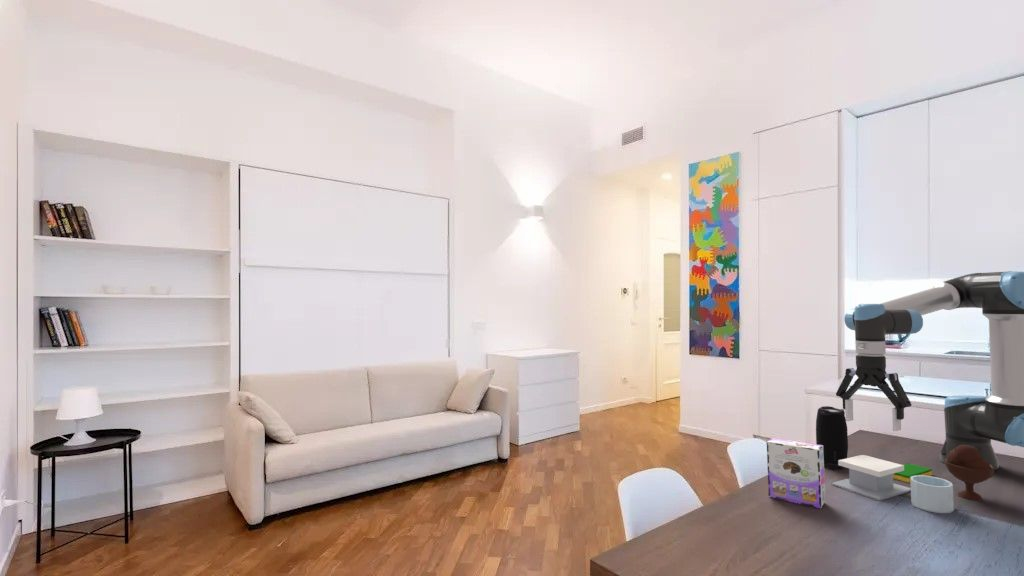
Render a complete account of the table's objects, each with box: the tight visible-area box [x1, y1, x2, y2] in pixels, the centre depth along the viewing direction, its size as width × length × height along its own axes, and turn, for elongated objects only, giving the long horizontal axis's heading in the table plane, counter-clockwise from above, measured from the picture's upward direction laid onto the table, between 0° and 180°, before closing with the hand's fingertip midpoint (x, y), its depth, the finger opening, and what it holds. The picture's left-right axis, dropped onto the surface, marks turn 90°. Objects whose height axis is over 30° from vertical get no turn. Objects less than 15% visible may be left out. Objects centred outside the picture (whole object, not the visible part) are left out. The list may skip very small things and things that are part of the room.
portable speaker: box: [815, 405, 849, 470], centre depth 179 cm, size 9×9×20 cm
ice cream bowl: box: [944, 445, 996, 501], centre depth 150 cm, size 11×11×15 cm
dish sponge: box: [893, 462, 933, 484], centre depth 168 cm, size 7×14×2 cm, turn 117°
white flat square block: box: [838, 454, 904, 477], centre depth 158 cm, size 12×12×2 cm
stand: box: [831, 468, 911, 502], centre depth 158 cm, size 16×14×6 cm
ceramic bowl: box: [910, 475, 955, 514], centre depth 144 cm, size 9×9×7 cm
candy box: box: [766, 437, 826, 509], centre depth 150 cm, size 14×6×16 cm, turn 47°
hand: (872, 425), depth 158 cm, fingers open, 13 cm apart
